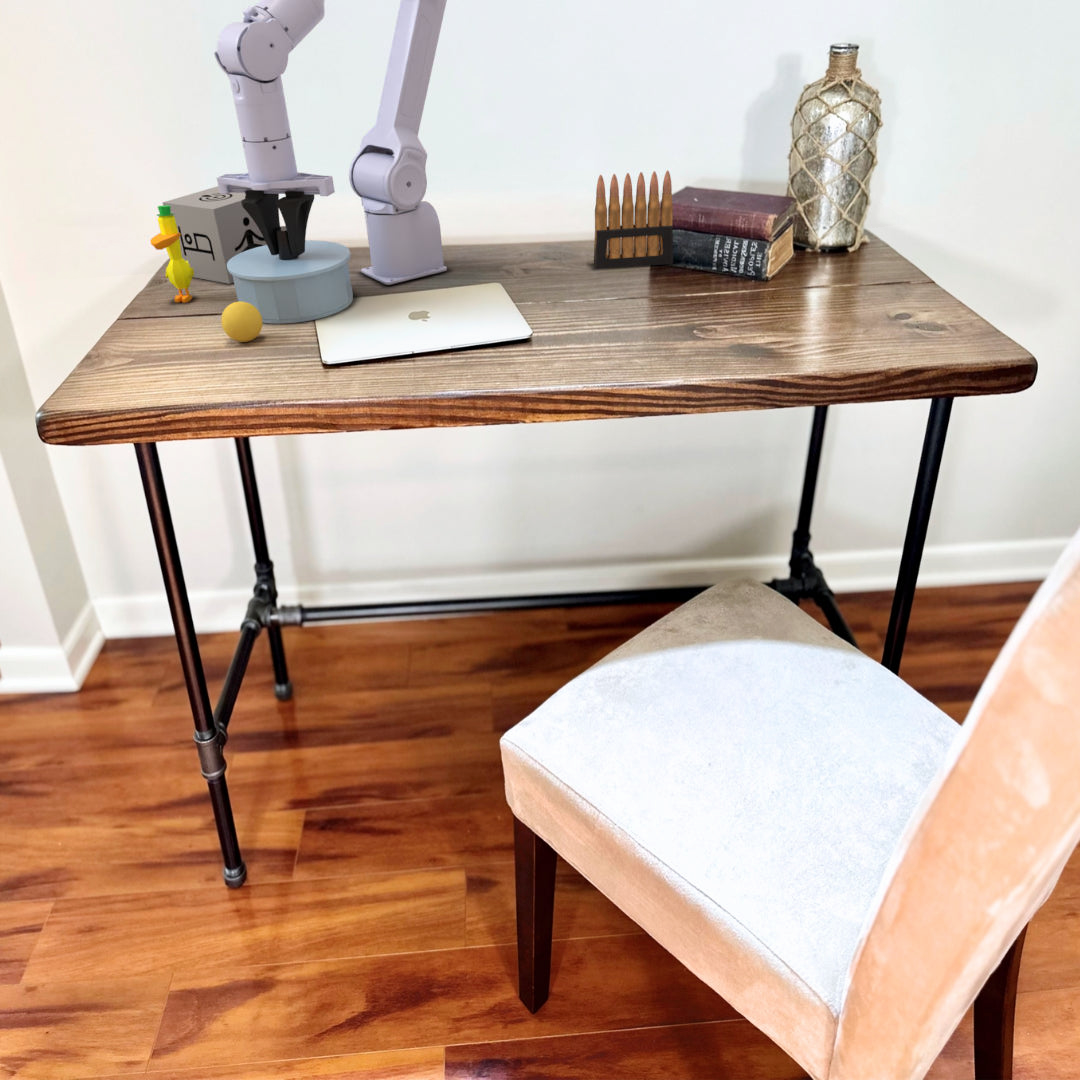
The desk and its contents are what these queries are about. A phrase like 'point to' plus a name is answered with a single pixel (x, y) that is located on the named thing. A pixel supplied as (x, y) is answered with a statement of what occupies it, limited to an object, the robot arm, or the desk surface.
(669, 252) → the ammunition clip
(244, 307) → the ball
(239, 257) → the lid
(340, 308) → the pot
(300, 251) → the robot arm
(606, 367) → the desk surface
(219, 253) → the icon cube
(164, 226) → the toy figure
